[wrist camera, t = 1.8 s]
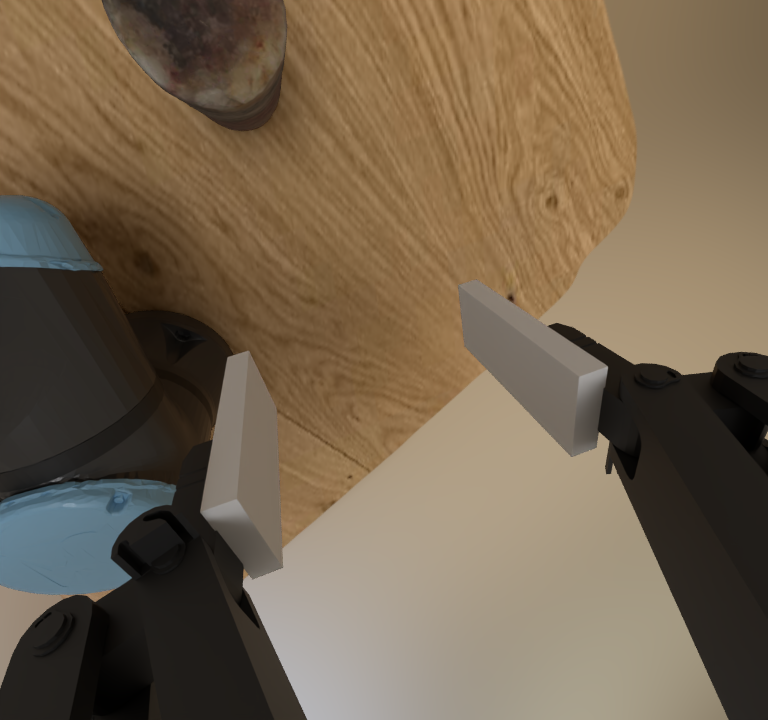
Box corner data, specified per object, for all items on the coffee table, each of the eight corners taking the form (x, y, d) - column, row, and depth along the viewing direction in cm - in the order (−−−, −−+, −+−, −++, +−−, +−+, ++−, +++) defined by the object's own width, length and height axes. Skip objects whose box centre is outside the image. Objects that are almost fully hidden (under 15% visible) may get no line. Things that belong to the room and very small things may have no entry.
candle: (188, 2, 29) (83, -184, 12) (285, 40, 32) (307, -71, 15) (185, 115, 32) (98, 89, 16) (273, 142, 35) (280, 143, 18)
